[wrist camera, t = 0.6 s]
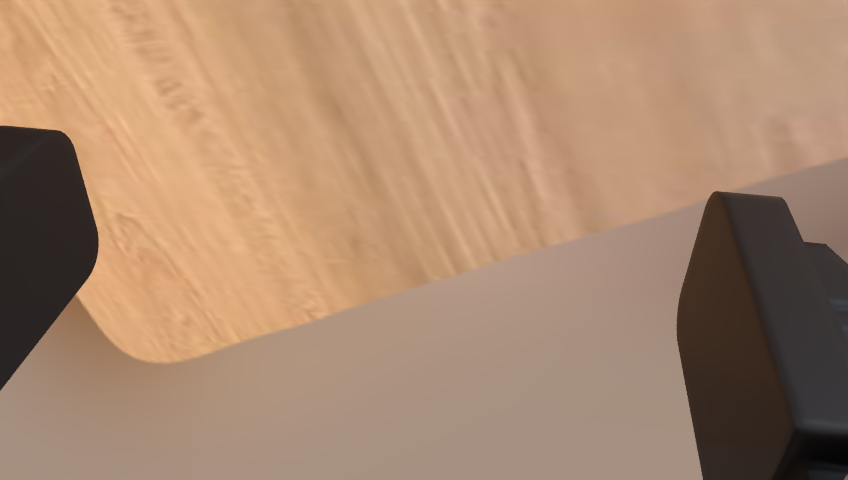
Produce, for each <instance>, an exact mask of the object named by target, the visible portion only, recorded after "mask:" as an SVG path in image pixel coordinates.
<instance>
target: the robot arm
mask: <svg viewBox="0 0 848 480" xmlns="http://www.w3.org/2000/svg"><path fill="white" fill-rule="evenodd" d="M98 245H99V244H98V231H97V227H96V223H95V220H94V216H93V213H92V209H91V206H90V202H89V198H88V195H87V191H86V188H85V184H84V181H83V177H82V173H81V170H80V166H79V163H78V159H77V156H76V152H75V149H74V146H73V144H72V142H71V140H70V139H69V137H68V136H67V135H66V134H65V133H63V132H61V131H57V130H48V129H37V128H25V127H14V126H0V390H1V389H2V388H3V386H4V385H5V384H6V383H7V381H8V380H9V379H10V377H11V376H12V375H13V373H14V372H15V371H16V370H17V369H18V367H19V366H20V365H21V363H22V362H23V361H24V359H25V358H26V357H27V356H28V354H29V353H30V352H31V351H32V349H33V348H34V347H35V345H36V344H37V343H38V342H39V340H40V339H41V338H42V336H43V335H44V334H45V333H46V331H47V330H48V329H49V327H50V326H51V325H52V324H53V322H54V321H55V320H56V319H57V317H58V316H59V315H60V313H61V312H62V311H63V310H64V308H65V307H66V306H67V304H68V303H69V302H70V301H71V299H72V298H73V297H74V295H75V294H76V293H77V292H78V290H79V289H80V288H81V286H82V285H83V284H84V283H85V281H86V280H87V279H88V277H89V276H90V274H91V272H92V270H93V268H94V265H95V263H96V259H97V254H98ZM677 341H678V346H679V352H680V358H681V363H682V368H683V374H684V379H685V385H686V390H687V395H688V401H689V406H690V411H691V417H692V422H693V427H694V433H695V438H696V444H697V449H698V453H699V459H700V465H701V471H702V476H703V480H848V264H847V263H846V262H845V261H844V260H842V259H841V258H840V257H839V256H838V255H837V254H836V253H835V252H834V251H833V250H832V249H830V248H829V247H828V246H827V245H826V244H819V243H809V242H803V239H802V237H801V235H800V233H799V230H798V228H797V226H796V224H795V221H794V219H793V217H792V215H791V213H790V210H789V208H788V206H787V204H786V202H785V200H784V199H783V198H781V197H774V196H763V195H751V194H741V193H729V192H718V191H716V192H714V193H712V195H711V196H710V198H709V199H708V202H707V204H706V207H705V210H704V214H703V217H702V221H701V224H700V227H699V231H698V234H697V238H696V241H695V245H694V248H693V251H692V255H691V258H690V262H689V266H688V269H687V273H686V276H685V279H684V283H683V287H682V290H681V294H680V298H679V305H678V313H677Z"/></svg>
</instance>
